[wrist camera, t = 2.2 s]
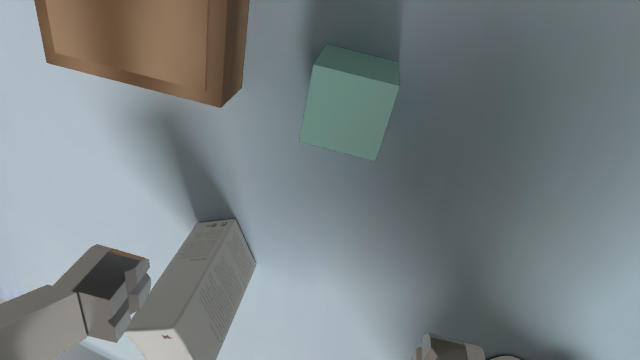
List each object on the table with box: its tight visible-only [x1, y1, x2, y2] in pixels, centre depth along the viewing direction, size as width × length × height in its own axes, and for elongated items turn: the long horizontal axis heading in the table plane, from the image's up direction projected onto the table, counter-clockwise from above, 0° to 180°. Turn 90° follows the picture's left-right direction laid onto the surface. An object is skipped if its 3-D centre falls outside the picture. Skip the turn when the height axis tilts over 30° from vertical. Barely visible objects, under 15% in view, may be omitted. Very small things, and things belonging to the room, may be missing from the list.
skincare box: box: [125, 219, 256, 360], centre depth 32 cm, size 6×4×12 cm
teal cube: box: [299, 44, 400, 161], centre depth 25 cm, size 5×5×5 cm
